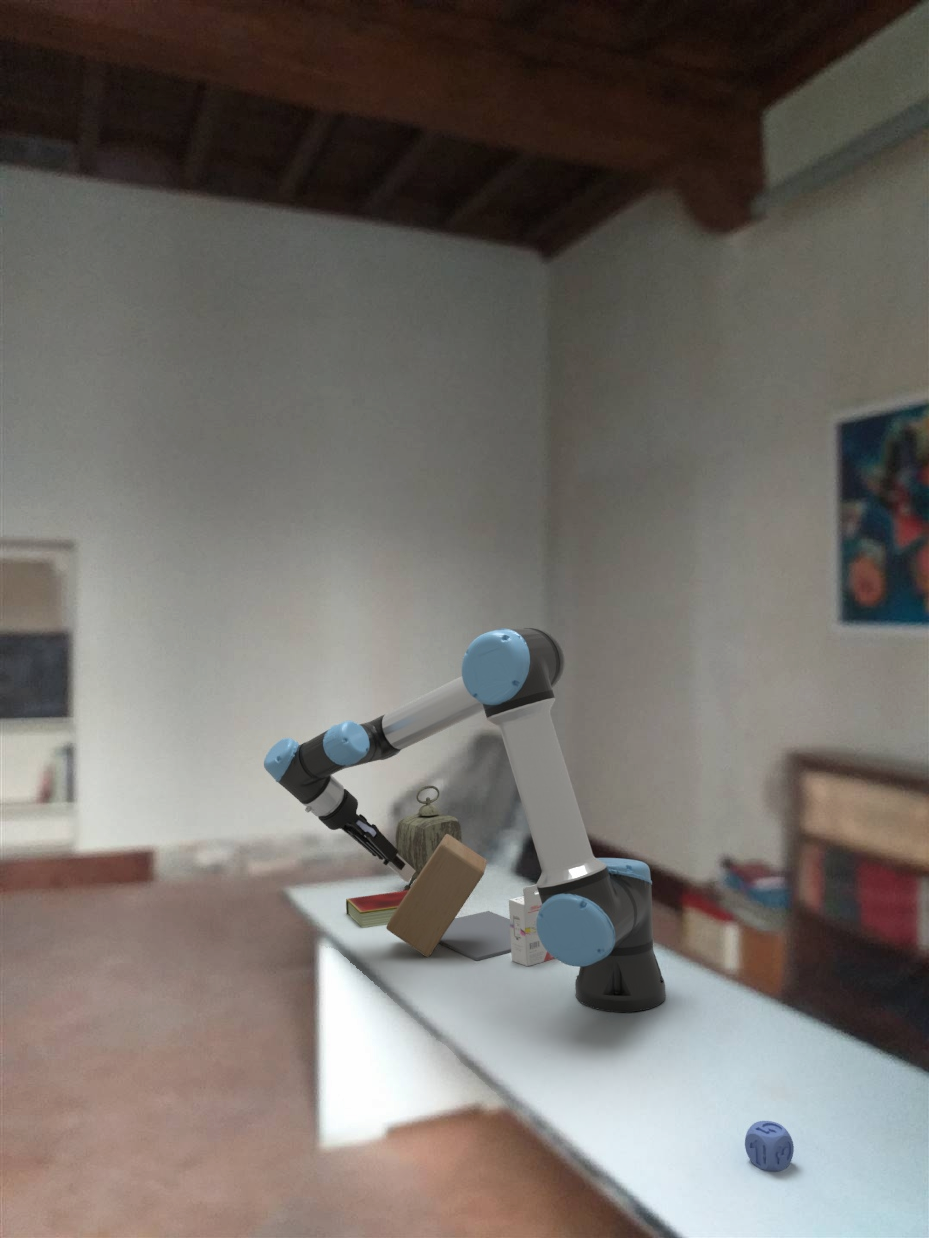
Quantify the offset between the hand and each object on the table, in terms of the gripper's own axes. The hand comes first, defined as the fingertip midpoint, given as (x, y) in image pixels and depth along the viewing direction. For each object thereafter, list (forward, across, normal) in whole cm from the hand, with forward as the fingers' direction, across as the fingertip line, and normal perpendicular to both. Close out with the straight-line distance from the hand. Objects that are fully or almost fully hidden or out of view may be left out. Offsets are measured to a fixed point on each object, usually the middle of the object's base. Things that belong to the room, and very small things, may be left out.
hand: (410, 875), depth 202 cm
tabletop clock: (+28, -34, +8) cm, 45 cm away
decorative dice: (+6, +94, -15) cm, 96 cm away
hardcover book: (+17, -22, -4) cm, 28 cm away
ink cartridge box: (+21, +21, 0) cm, 29 cm away
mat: (+21, +3, +1) cm, 21 cm away
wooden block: (+7, +1, -9) cm, 12 cm away
